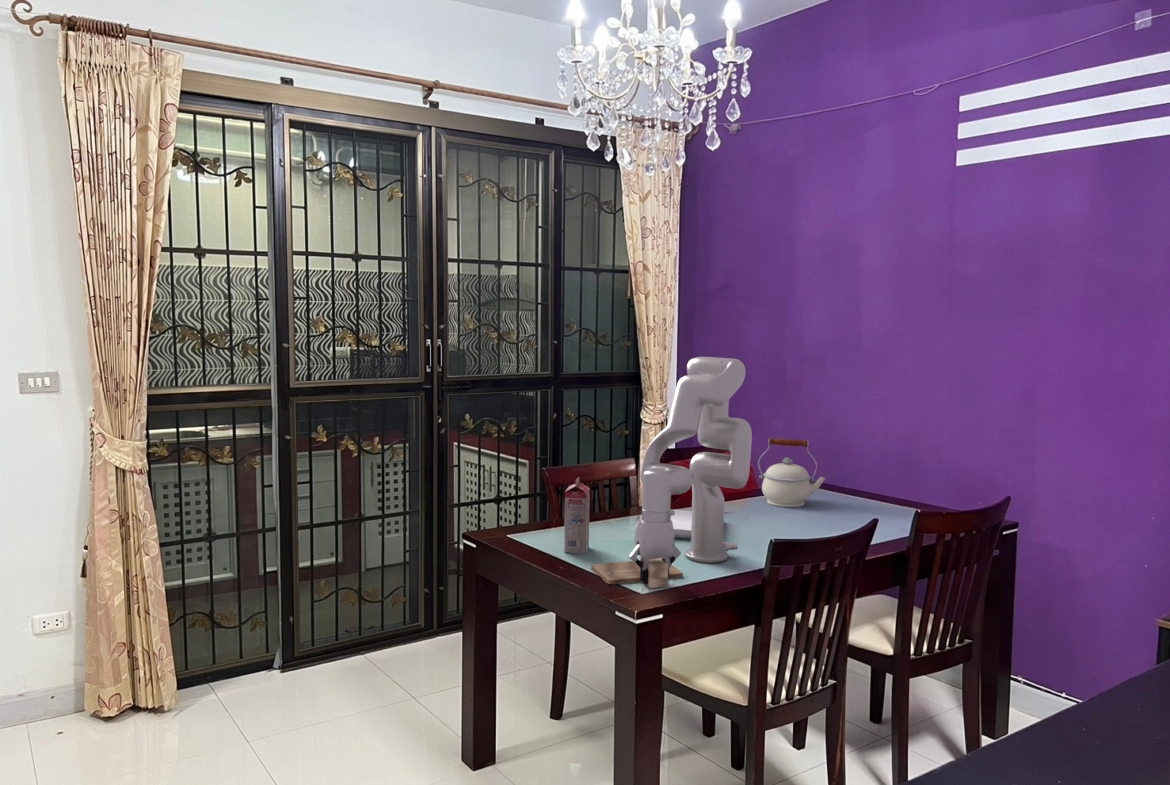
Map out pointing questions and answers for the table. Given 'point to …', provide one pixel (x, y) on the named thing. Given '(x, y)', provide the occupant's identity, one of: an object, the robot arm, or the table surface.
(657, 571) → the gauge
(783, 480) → the kettle
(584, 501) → the juice carton
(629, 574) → the board
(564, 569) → the table surface
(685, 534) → the square plate
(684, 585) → the table surface
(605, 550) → the table surface
